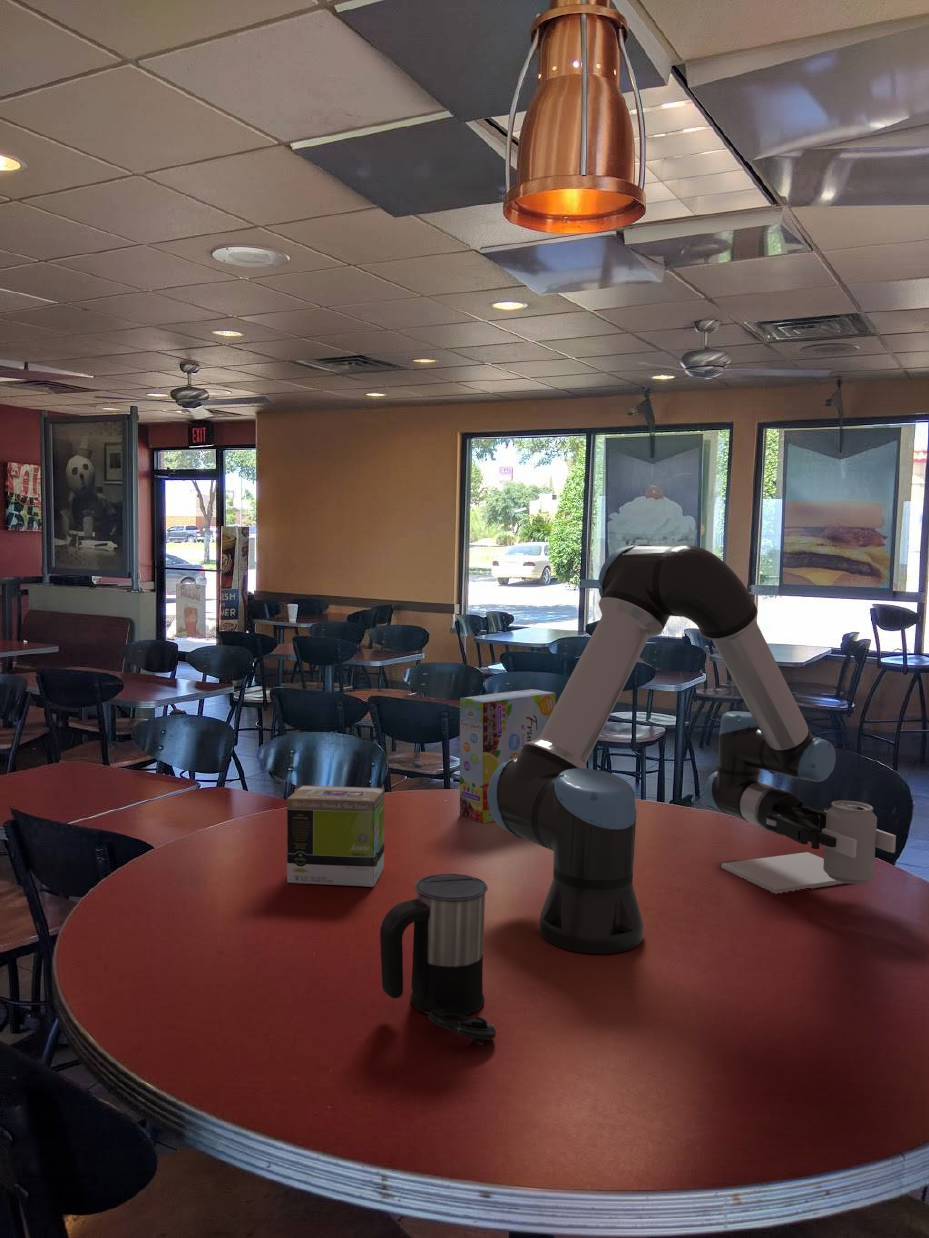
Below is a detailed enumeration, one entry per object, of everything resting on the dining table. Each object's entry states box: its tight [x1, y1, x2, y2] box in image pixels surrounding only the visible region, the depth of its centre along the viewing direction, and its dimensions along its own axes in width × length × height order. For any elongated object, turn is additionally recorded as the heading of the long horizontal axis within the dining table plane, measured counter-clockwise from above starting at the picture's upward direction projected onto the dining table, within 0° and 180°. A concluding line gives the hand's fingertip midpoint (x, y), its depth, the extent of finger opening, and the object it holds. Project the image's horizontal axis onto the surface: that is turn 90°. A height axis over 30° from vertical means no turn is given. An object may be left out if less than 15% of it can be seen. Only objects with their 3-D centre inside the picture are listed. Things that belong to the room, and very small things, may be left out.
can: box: [823, 800, 878, 885], centre depth 152 cm, size 8×8×12 cm
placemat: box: [721, 851, 845, 895], centre depth 169 cm, size 20×14×1 cm
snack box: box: [459, 689, 557, 824], centre depth 204 cm, size 22×9×26 cm, turn 130°
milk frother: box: [379, 873, 497, 1044], centre depth 113 cm, size 14×16×15 cm
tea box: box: [286, 785, 385, 888], centre depth 161 cm, size 15×10×15 cm
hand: (874, 846), depth 147 cm, fingers closed on can, 7 cm apart
